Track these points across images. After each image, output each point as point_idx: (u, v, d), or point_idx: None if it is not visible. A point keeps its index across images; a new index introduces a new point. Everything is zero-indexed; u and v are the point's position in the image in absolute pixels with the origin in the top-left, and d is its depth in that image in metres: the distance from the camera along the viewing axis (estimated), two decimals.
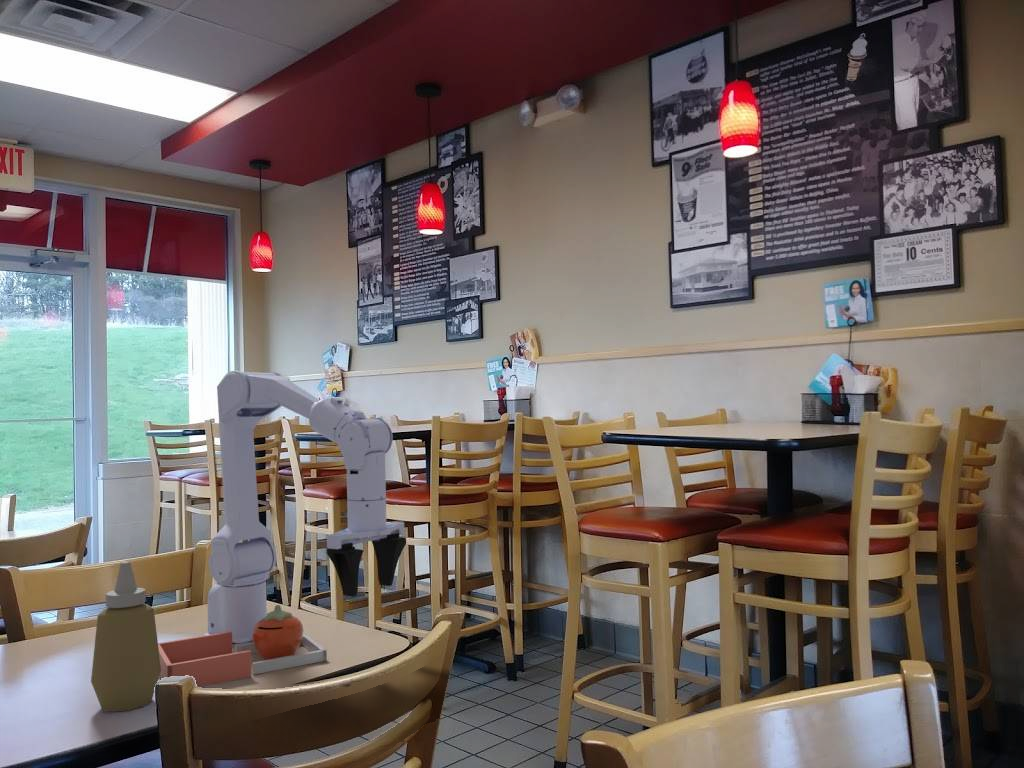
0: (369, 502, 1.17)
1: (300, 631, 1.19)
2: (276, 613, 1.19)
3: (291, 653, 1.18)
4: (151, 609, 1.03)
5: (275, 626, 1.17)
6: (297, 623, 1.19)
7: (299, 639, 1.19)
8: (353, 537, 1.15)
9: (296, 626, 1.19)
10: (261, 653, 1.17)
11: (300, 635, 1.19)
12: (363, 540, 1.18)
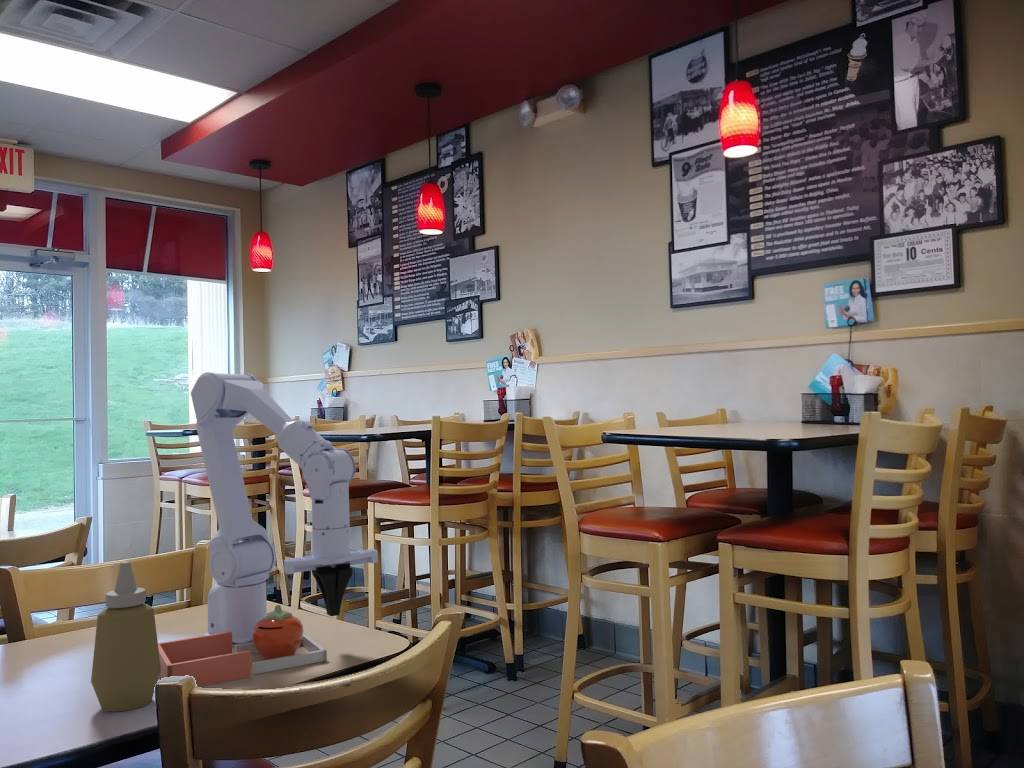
0: (324, 531, 1.22)
1: (300, 631, 1.19)
2: (276, 613, 1.19)
3: (291, 653, 1.18)
4: (151, 609, 1.03)
5: (275, 626, 1.17)
6: (297, 623, 1.19)
7: (299, 639, 1.19)
8: (306, 564, 1.21)
9: (297, 626, 1.19)
10: (261, 653, 1.17)
11: (300, 635, 1.19)
12: (325, 566, 1.24)
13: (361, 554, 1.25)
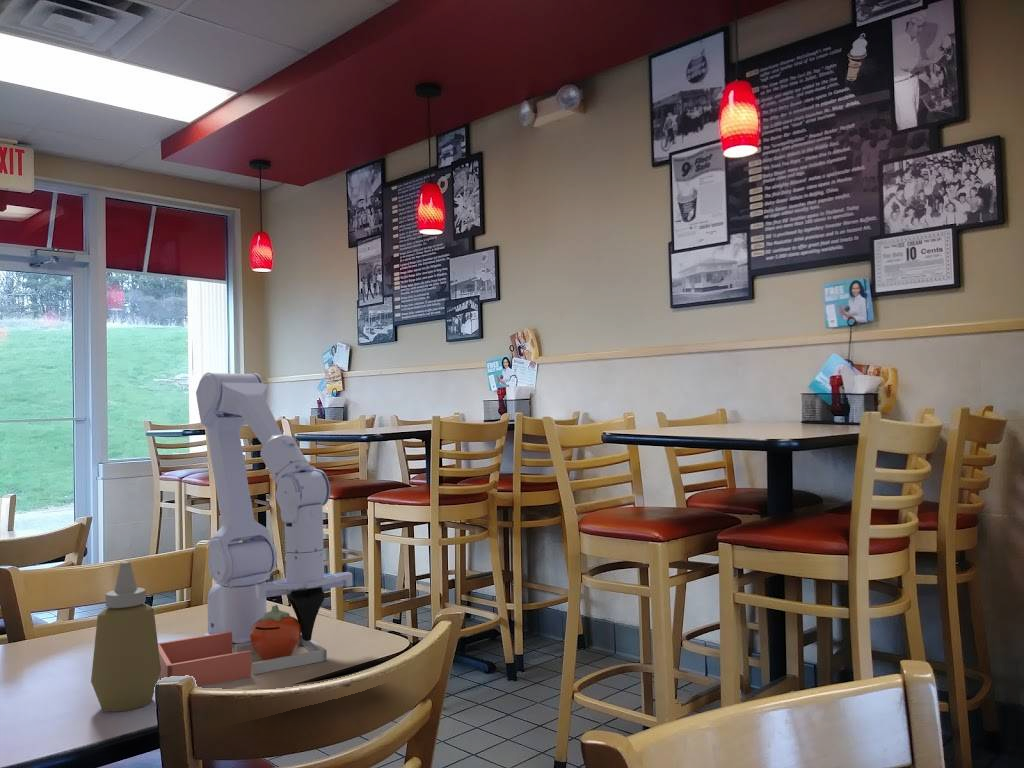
0: (297, 554, 1.19)
1: (298, 631, 1.19)
2: (273, 613, 1.19)
3: (289, 653, 1.18)
4: (151, 609, 1.03)
5: (272, 626, 1.17)
6: (294, 623, 1.19)
7: (297, 639, 1.19)
8: (278, 588, 1.18)
9: (294, 626, 1.18)
10: (259, 653, 1.17)
11: (298, 635, 1.19)
12: (298, 590, 1.21)
13: (335, 578, 1.23)
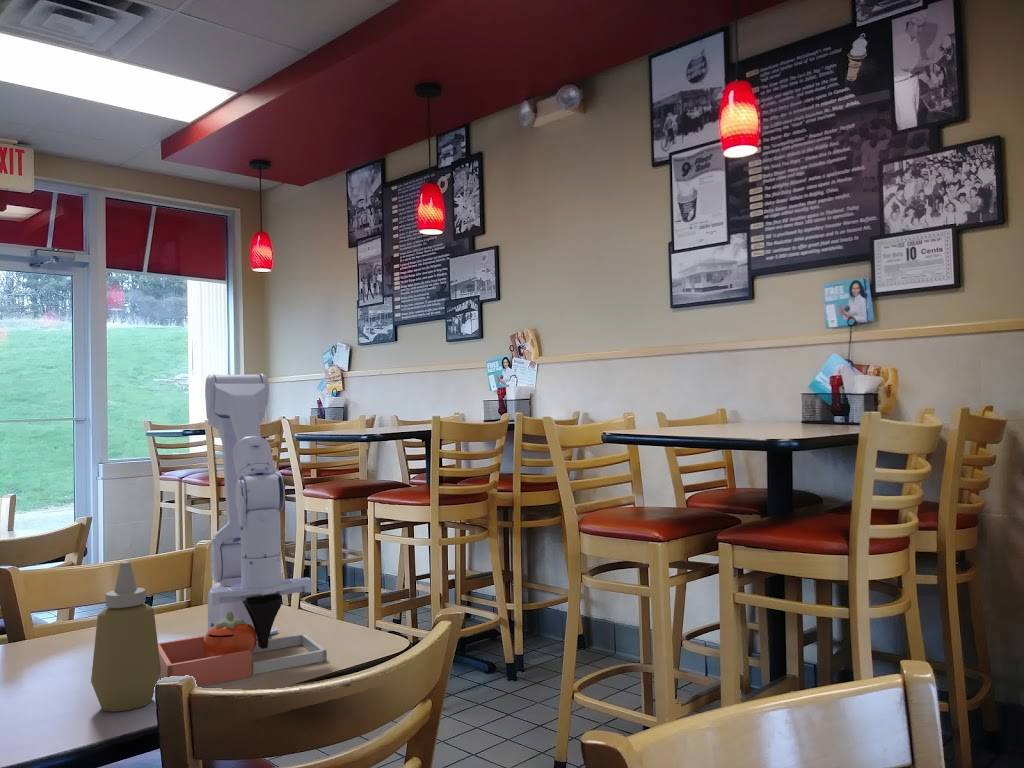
0: (252, 560, 1.16)
1: (252, 639, 1.15)
2: (227, 620, 1.15)
3: None
4: (151, 609, 1.03)
5: (226, 634, 1.13)
6: (249, 630, 1.16)
7: (251, 647, 1.15)
8: (233, 594, 1.15)
9: (248, 634, 1.15)
10: None
11: (252, 643, 1.15)
12: (254, 597, 1.18)
13: (293, 583, 1.20)
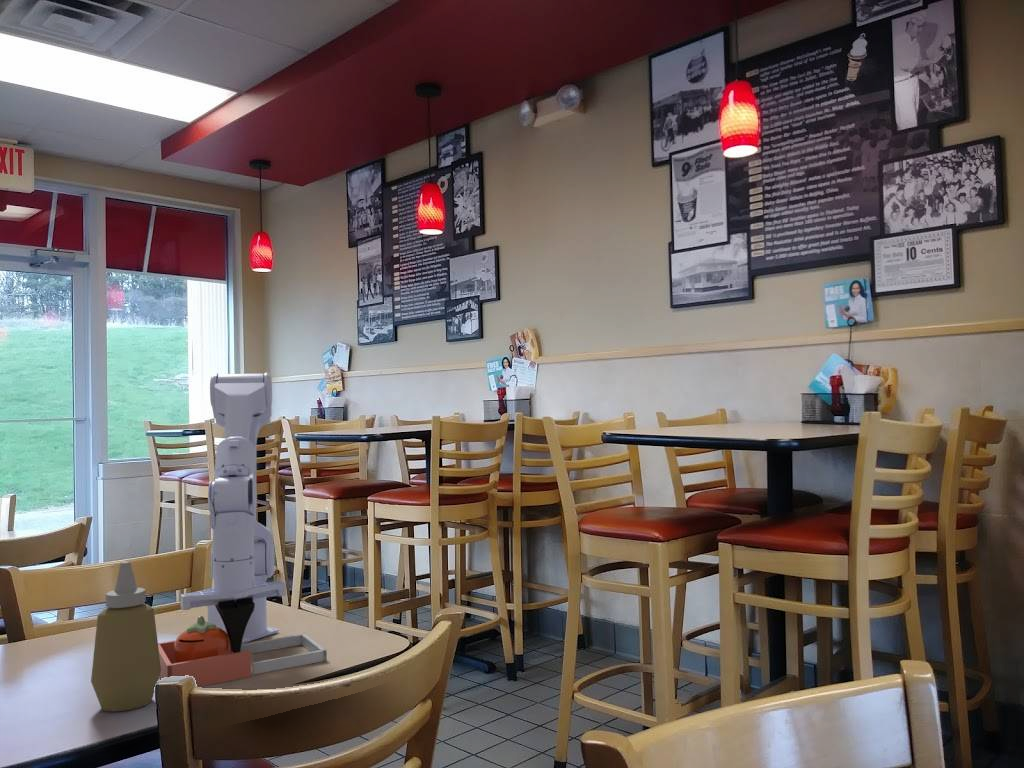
0: (224, 563, 1.14)
1: (224, 643, 1.13)
2: (198, 625, 1.13)
3: None
4: (151, 609, 1.03)
5: (196, 639, 1.11)
6: (220, 635, 1.13)
7: (223, 652, 1.13)
8: (204, 598, 1.13)
9: (220, 638, 1.13)
10: None
11: (224, 648, 1.13)
12: (226, 601, 1.16)
13: (266, 587, 1.18)
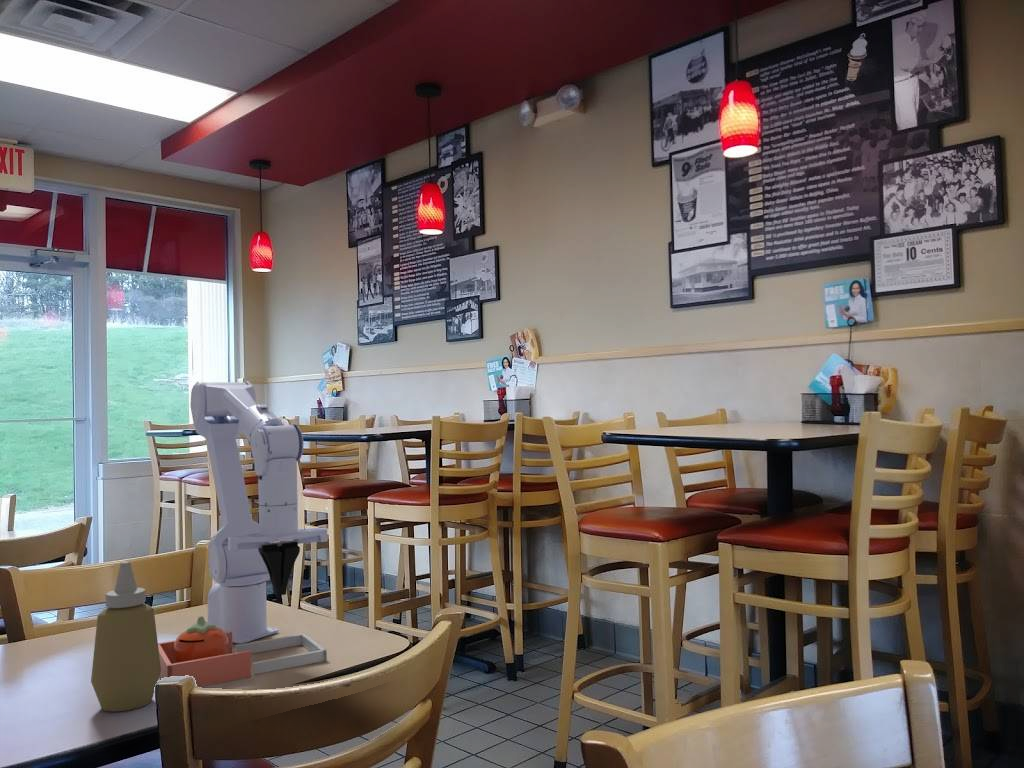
0: (270, 507, 1.18)
1: (224, 644, 1.13)
2: (199, 625, 1.13)
3: None
4: (151, 609, 1.03)
5: (196, 639, 1.11)
6: (221, 635, 1.14)
7: (223, 652, 1.13)
8: (250, 541, 1.17)
9: (220, 639, 1.13)
10: None
11: (224, 648, 1.13)
12: (271, 544, 1.20)
13: (309, 532, 1.22)
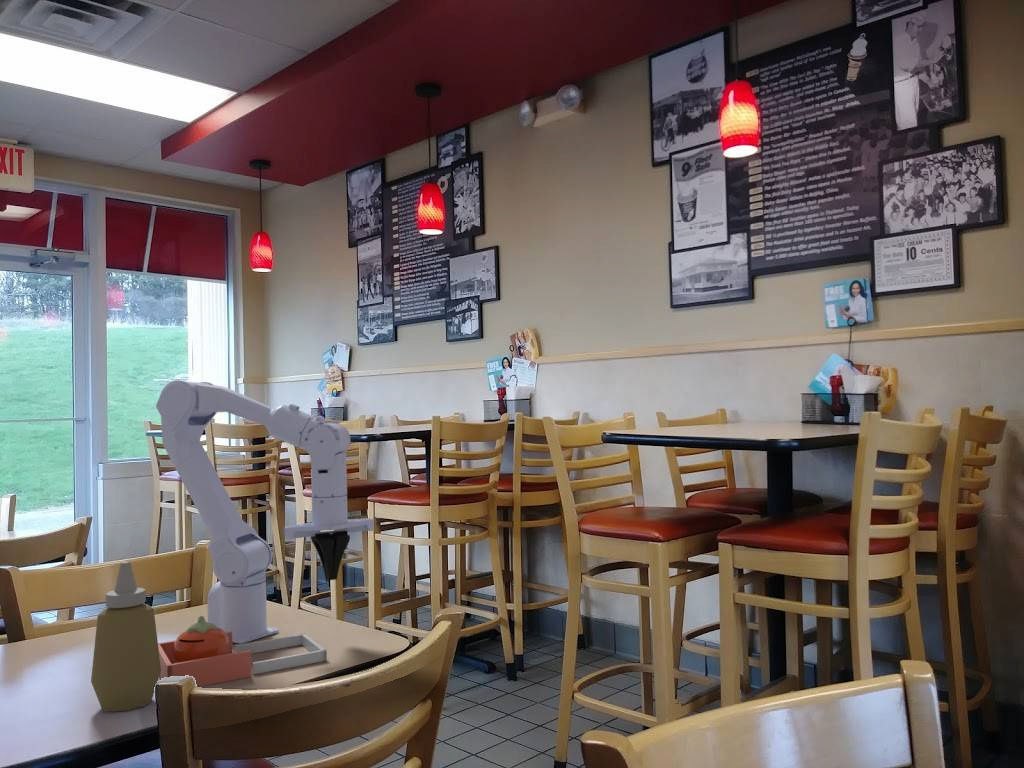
0: (323, 499, 1.28)
1: (224, 644, 1.13)
2: (199, 625, 1.13)
3: None
4: (151, 609, 1.03)
5: (196, 639, 1.11)
6: (221, 635, 1.14)
7: (223, 652, 1.13)
8: (306, 530, 1.27)
9: (220, 639, 1.13)
10: None
11: (224, 648, 1.13)
12: (323, 533, 1.30)
13: (358, 522, 1.32)
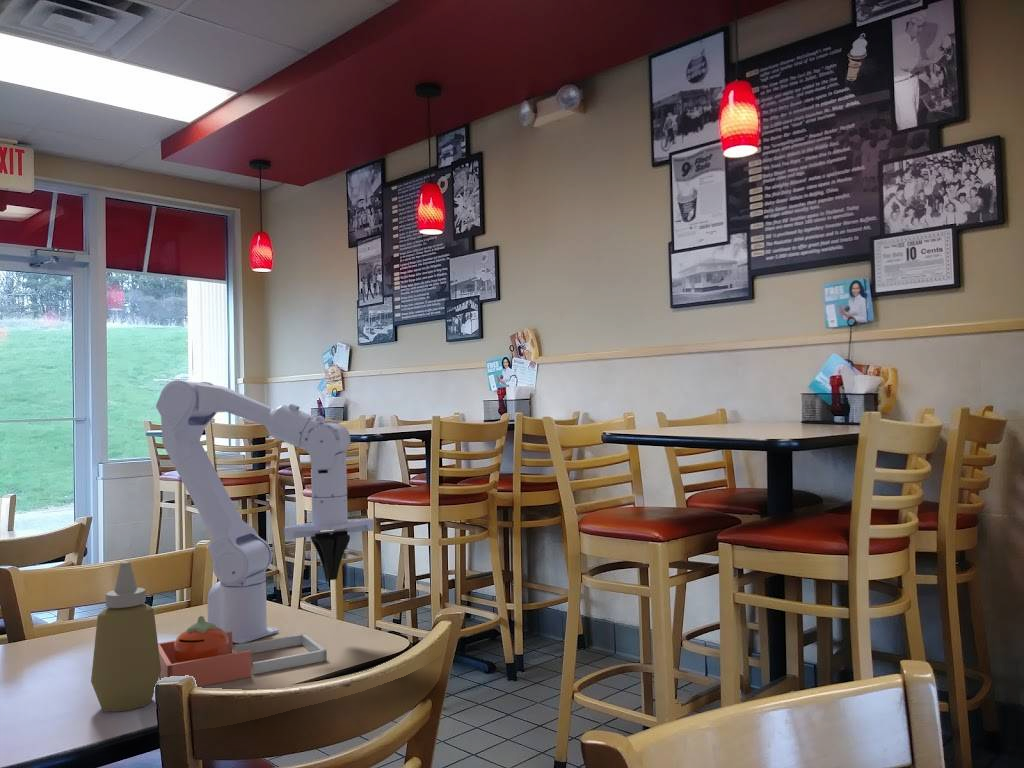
0: (323, 499, 1.28)
1: (224, 644, 1.13)
2: (199, 625, 1.13)
3: None
4: (151, 609, 1.03)
5: (196, 639, 1.11)
6: (221, 635, 1.14)
7: (223, 652, 1.13)
8: (306, 530, 1.27)
9: (220, 639, 1.13)
10: None
11: (224, 648, 1.13)
12: (323, 533, 1.30)
13: (358, 522, 1.32)
